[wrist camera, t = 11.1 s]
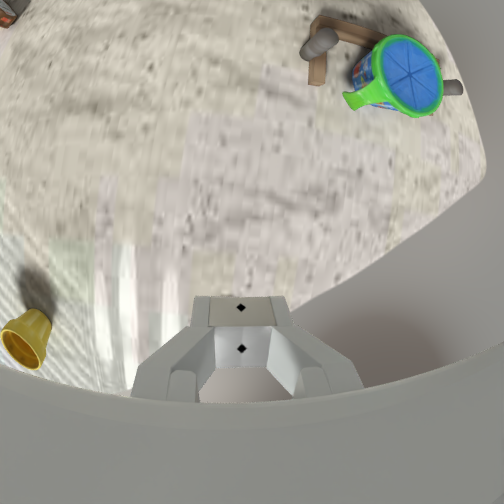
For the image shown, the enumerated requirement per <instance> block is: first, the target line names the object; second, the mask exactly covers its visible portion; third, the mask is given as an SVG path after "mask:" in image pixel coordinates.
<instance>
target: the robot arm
mask: <svg viewBox="0 0 504 504" xmlns="http://www.w3.org/2000/svg"><path fill="white" fill-rule="evenodd" d="M233 367H235V368H236V367H267V369H268V370H269V371H270V373H271V374H272V375H273V376H274V377H275V378H276V379H277V380H278V381H279V382H280V383H281V384H282V385H283V386H284V388H285V389H286V390H287V391H288V392H290V394H291V395H292V396H293V398H292V400H283V401H270V402H252V403H251V402H250V403H200V399H199V391H200V389H201V388H202V387H203V385H204V384H205V383H206V381H207V380H208V379H209V377H210V376H211V375H212V373H213V372H214V371H215V368H233ZM0 504H504V342H502V343H500V344H498V345H496V346H494V347H491V348H489V349H487V350H485V351H483V352H481V353H478V354H476V355H473V356H471V357H468V358H466V359H463V360H461V361H458V362H455V363H453V364H450V365H447V366H444V367H441V368H439V369H436V370H433V371H429V372H427V373H423V374H420V375H417V376H413V377H410V378H406V379H402V380H399V381H395V382H391V383H387V384H383V385H379V386H374V387H370V388H365V389H364V386H363V384H362V382H361V380H360V378H359V376H358V373H357V371H356V369H355V367H354V365H353V363H352V361H350V360H349V359H347V358H346V357H344V356H343V355H341V354H340V353H338V352H337V351H335V350H334V349H332V348H331V347H329V346H328V345H327V344H325V343H324V342H322V341H321V340H319V339H318V338H316V337H315V336H313V335H312V334H310V333H309V332H307V331H306V330H304V329H303V328H302V327H300V326H299V325H297V326H294V323H293V320H292V317H291V314H290V311H289V308H288V305H287V302H286V299H285V297H284V296H269V297H221V296H211V297H210V296H195V298H194V304H193V311H192V318H191V325H190V327H188V326H186V327H185V328H184V329H182V330H181V331H180V332H179V333H178V334H176V335H175V336H174V337H173V338H172V339H170V340H169V341H168V342H167V343H166V344H164V345H163V346H162V347H161V348H160V349H158V350H157V351H156V352H155V353H153V354H152V355H151V356H150V357H149V358H147V359H146V360H145V361H144V362H143V363H141V364H140V365H139V366H138V369H137V373H136V376H135V380H134V384H133V388H132V392H131V396H130V397H127V396H121V395H114V394H108V393H103V392H97V391H92V390H87V389H82V388H78V387H74V386H69V385H65V384H61V383H58V382H54V381H50V380H47V379H43V378H40V377H37V376H33V375H30V374H27V373H24V372H21V371H18V370H15V369H13V368H10V367H7V366H4V365H2V364H0Z"/></svg>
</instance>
